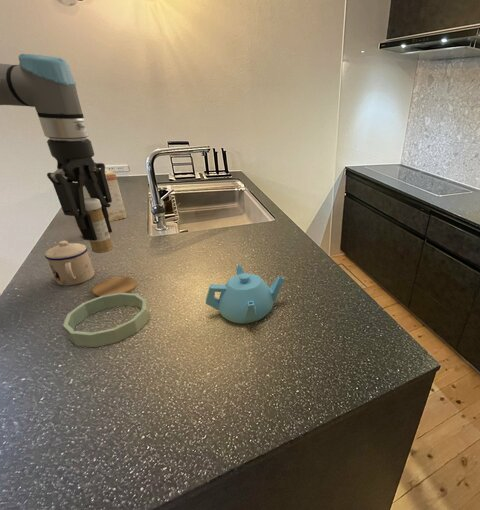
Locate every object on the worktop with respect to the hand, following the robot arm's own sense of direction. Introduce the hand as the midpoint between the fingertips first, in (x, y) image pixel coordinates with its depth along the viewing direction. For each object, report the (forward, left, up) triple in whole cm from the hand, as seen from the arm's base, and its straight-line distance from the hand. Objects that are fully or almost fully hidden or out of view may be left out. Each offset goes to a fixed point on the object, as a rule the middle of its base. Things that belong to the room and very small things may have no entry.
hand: (98, 235), depth 78 cm
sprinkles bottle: (0, 0, -4) cm, 4 cm away
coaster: (-1, +1, -17) cm, 17 cm away
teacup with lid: (-14, +3, -17) cm, 22 cm away
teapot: (+38, -3, -17) cm, 42 cm away
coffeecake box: (-40, +52, -17) cm, 67 cm away
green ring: (+8, -13, -17) cm, 23 cm away
